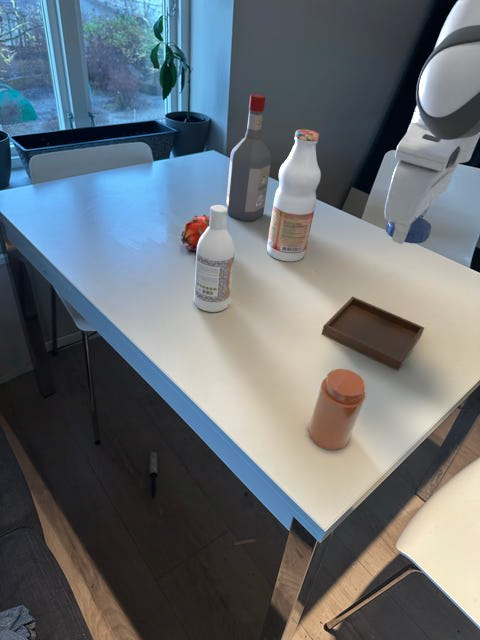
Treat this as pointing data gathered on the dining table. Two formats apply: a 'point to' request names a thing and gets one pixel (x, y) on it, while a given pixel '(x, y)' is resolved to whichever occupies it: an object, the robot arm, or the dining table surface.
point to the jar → (337, 409)
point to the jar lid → (413, 230)
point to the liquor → (249, 168)
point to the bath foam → (214, 263)
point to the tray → (373, 332)
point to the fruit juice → (295, 199)
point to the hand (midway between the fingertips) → (406, 233)
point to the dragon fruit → (194, 231)
